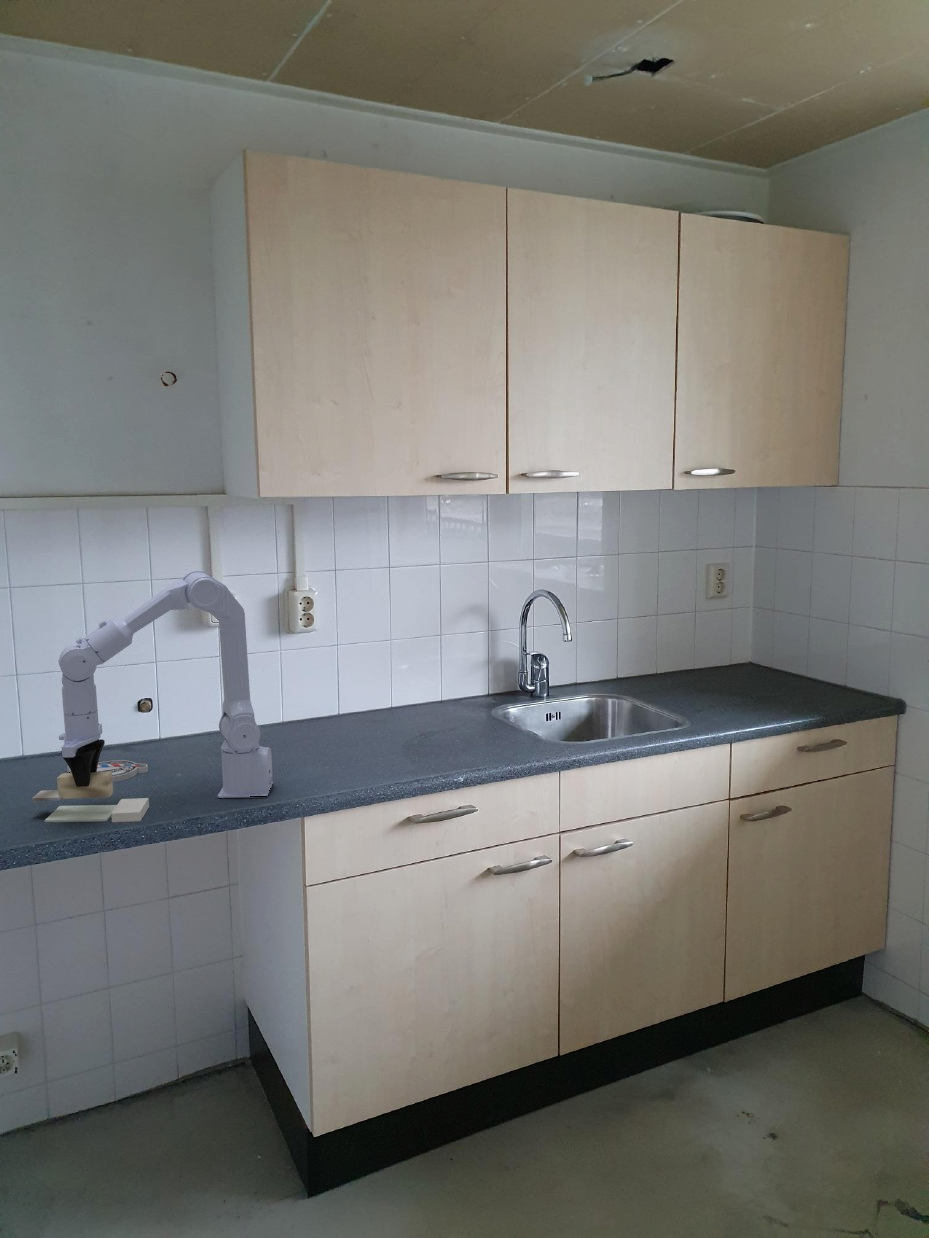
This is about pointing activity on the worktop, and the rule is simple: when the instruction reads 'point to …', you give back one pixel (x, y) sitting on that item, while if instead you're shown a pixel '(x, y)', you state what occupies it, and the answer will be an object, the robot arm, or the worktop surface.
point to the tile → (130, 810)
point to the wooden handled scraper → (78, 788)
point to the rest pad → (81, 813)
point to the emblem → (120, 769)
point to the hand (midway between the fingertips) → (85, 783)
